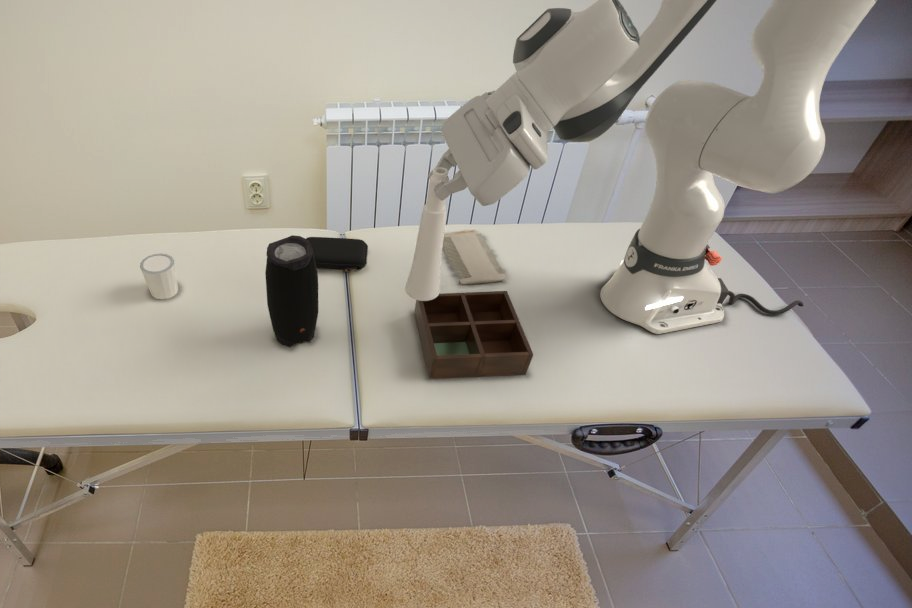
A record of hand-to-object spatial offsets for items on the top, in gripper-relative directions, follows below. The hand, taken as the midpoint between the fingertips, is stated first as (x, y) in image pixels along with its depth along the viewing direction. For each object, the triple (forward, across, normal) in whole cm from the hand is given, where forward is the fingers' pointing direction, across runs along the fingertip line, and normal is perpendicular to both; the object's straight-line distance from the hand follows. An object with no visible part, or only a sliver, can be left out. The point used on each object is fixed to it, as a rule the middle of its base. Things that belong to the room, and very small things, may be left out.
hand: (434, 188), depth 85 cm
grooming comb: (+10, -24, +34) cm, 43 cm away
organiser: (+15, +2, +29) cm, 33 cm away
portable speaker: (+38, -3, +6) cm, 38 cm away
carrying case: (+31, -26, +13) cm, 42 cm away
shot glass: (+56, -19, -13) cm, 61 cm away
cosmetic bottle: (+13, 0, +14) cm, 19 cm away
